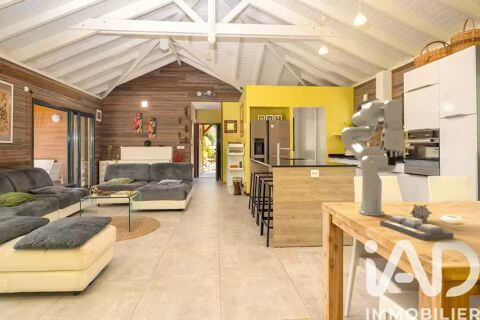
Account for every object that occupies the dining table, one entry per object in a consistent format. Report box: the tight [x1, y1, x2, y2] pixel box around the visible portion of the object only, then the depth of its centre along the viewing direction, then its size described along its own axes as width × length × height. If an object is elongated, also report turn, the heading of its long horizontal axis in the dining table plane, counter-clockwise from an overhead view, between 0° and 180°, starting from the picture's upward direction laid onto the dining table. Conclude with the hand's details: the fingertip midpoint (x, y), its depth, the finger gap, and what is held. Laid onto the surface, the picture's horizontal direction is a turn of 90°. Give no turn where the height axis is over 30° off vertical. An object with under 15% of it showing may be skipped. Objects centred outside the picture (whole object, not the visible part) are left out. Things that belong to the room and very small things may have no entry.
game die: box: [409, 203, 433, 223], centre depth 142 cm, size 9×8×10 cm
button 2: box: [421, 223, 440, 230], centre depth 117 cm, size 4×4×2 cm
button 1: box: [391, 215, 408, 220], centre depth 133 cm, size 4×4×2 cm
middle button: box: [406, 216, 424, 225], centre depth 125 cm, size 4×4×2 cm
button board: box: [379, 216, 454, 241], centre depth 125 cm, size 24×14×4 cm, turn 13°
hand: (391, 165), depth 140 cm, fingers closed
